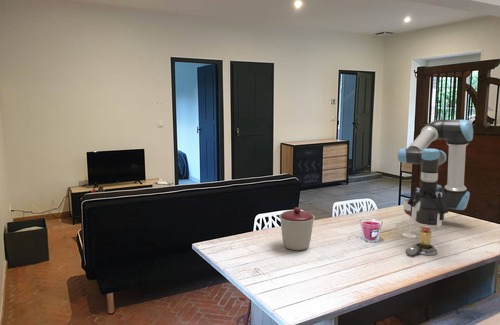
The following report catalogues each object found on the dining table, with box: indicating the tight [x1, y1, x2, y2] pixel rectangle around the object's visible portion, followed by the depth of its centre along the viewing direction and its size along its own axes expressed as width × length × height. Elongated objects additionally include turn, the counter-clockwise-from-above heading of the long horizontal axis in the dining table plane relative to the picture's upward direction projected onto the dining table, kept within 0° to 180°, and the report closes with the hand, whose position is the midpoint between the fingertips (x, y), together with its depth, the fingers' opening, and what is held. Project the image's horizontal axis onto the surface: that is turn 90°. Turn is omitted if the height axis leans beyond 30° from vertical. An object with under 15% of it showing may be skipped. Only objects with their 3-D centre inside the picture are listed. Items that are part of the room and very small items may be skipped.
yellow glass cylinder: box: [418, 226, 432, 249], centre depth 184 cm, size 5×5×11 cm
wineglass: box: [402, 198, 420, 239], centre depth 205 cm, size 8×9×20 cm
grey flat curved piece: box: [405, 242, 438, 257], centre depth 183 cm, size 18×12×4 cm, turn 121°
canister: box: [278, 206, 316, 251], centre depth 189 cm, size 18×18×21 cm
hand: (426, 222), depth 183 cm, fingers open, 13 cm apart
